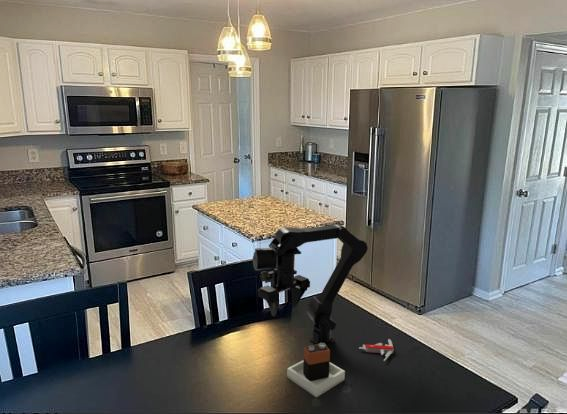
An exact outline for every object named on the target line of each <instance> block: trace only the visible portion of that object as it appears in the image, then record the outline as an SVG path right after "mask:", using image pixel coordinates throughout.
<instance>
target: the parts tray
mask: <svg viewBox="0 0 567 414" xmlns="http://www.w3.org/2000/svg"><path fill="white" fill-rule="evenodd" d="M303 362H304V359H303V360H301V361H299V362H297V363H295V364H293V365H291V366H290V367H287V368H286V369H287V371H286V372H287V373H286V377H287V378H288V379H289V380H290V381H292V382H293V383H295V384H296V385H297V386H299V387H301V388H302V389H303V390H305V391H306V392H308V393H309V394H311V396H313V397H315V398H318V397H320V396H321V395H322V394H324V393H326V392H327V391H329V390H330V389H332V388H334V387H335V386H337V385H339V384H341V383H342V382H344V381H345V376H346V375H345V374H346V371H345V370H344V369H342V368H340V367H339V366H338V365H335V364H334V363H332V362H330V364H329V377H328V378H323V379H319V380H314V381H309V380H308V379H306V377H305V375H304V374H303Z"/></svg>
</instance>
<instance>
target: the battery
mask: <svg viewBox="0 0 567 414" xmlns="http://www.w3.org/2000/svg"><path fill="white" fill-rule="evenodd" d="M330 357H331V350H330V349H329V347H328V346H326V345H325V343H319V344H312V345H307V346H304V347H303V360H304V362H303V374H304V375H305V377H306V379H308V380H309V381H314V380H319V379H323V378H328V377H329V364H330V361H331V360H330V359H331V358H330Z"/></svg>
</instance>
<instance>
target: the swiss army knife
mask: <svg viewBox="0 0 567 414" xmlns="http://www.w3.org/2000/svg"><path fill="white" fill-rule="evenodd" d="M387 342H388V344H386V343H385V344H384V345H383V343H382V342H378V343H376V344H362V347H361V346H359V347H358V349H361V350H364V351H365V352H366V353H373V354H375V353H379V354H380V355H381V356H383V355H384V354H385V355H384V357H385V358H384V359H383V362H385V361H386V360H387V359H388V358H389V356H391V354H394V345H393V342H392V340H391V339H390V338H388V340H387Z"/></svg>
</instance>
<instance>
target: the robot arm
mask: <svg viewBox="0 0 567 414" xmlns="http://www.w3.org/2000/svg"><path fill="white" fill-rule="evenodd" d="M334 239H338V240H339V241H340V242H341V243H342V246H341V250H340V259H339V260H338V262H337V264H336V266H335V267H334V269H333V271H332V273H331V275H330V276H329V278H328V281H327V282H326V284H325V286H324V287H323V290H322V292H321V293H320V295H318V296H316V297H315V296H313V295H312V296H311V298H310V301H309V302H308V304H307V305H306V307H307V309H306V313H307V315H308V316H309V318H310V320H311V321H313V323H314V325H313V330H312V337H311V338H310V339H309V341H310V342H311V343H313V344H314V345H317V344H319V343H325V345H326V346H327V347H328V346H330V345H331V344H333V343H335V342H336V339H334V338H333V331H334V330H335V329H336V326H337V323H336V322H335V321H334V320H333V319H332V318H331V316H332V313H333V305H334V301H335V299H336V297H337V296H338V294H339V292H340V290H341V289H342V287H343V285H344V283H345V281H346V279H347V277H348V276H349V273H350V272H351V270H352V269H353V267H354V265H356V264H357V263H359V262H361V261H362V260H363V258H364V257H365V255H366V254H367V252H368V249H369V247H368V244H367V242H366V241H364V240H363V239H361V238H359V237H357V236H356V235H354V234H353V233H351V232H350V231H349V230H348V229H347V228H346V227H345V226H343V225H342V224H339V223H336V224H332V225H325V226H318V227H317V226H316V227H309V228H298V227H291V226H290V227H289V226H288V227H286V226H283V227H280V228H278V229H277V231H276V232H275V236H274V238H273V239H272V240H271V242H270V243H269V245H268V247H264V248H263V247H262V248H261V247H255V248H254V252H253V256H252V264H253V265H252V266H253V269H254V270H255V271H261V272H260V274H259V275H260V277H259V278H260V281H261V282H264V283H265V284H267V285H265V286H262V287H259V288H258V289H257V297H258V298H261V299H263V300H264V301H265V302H266V303H267V305H268V308H269V310H270V314H271V316H272V317H276V316H277V315H276V314H277V311H278V306H279V303H280V299H279V297H280V293H283V292H285V291H288V290H291V306H292V308H293V309H295V308H297V306H298V304H299V302H300V300H301V299H302V297H303V296H304V294H305V292H307V290H308V288H309V289H310V288H311V281H310V279H309V278H307V277H306V276H304V275H301V274H298V275H297V273H298V271H297V270H295V261H296V260H295V259H296V258H295V256H296V255H301V254H302V251H300V249H298V248H299V247H301V246H303V245H304V244H307V243H314V242H318V241H326V240H334ZM271 269H272V270H271ZM262 270H264V271H262ZM268 270H271V271H268ZM268 283H271V285H273V286H275V287H272V286H270V285H268Z"/></svg>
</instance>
